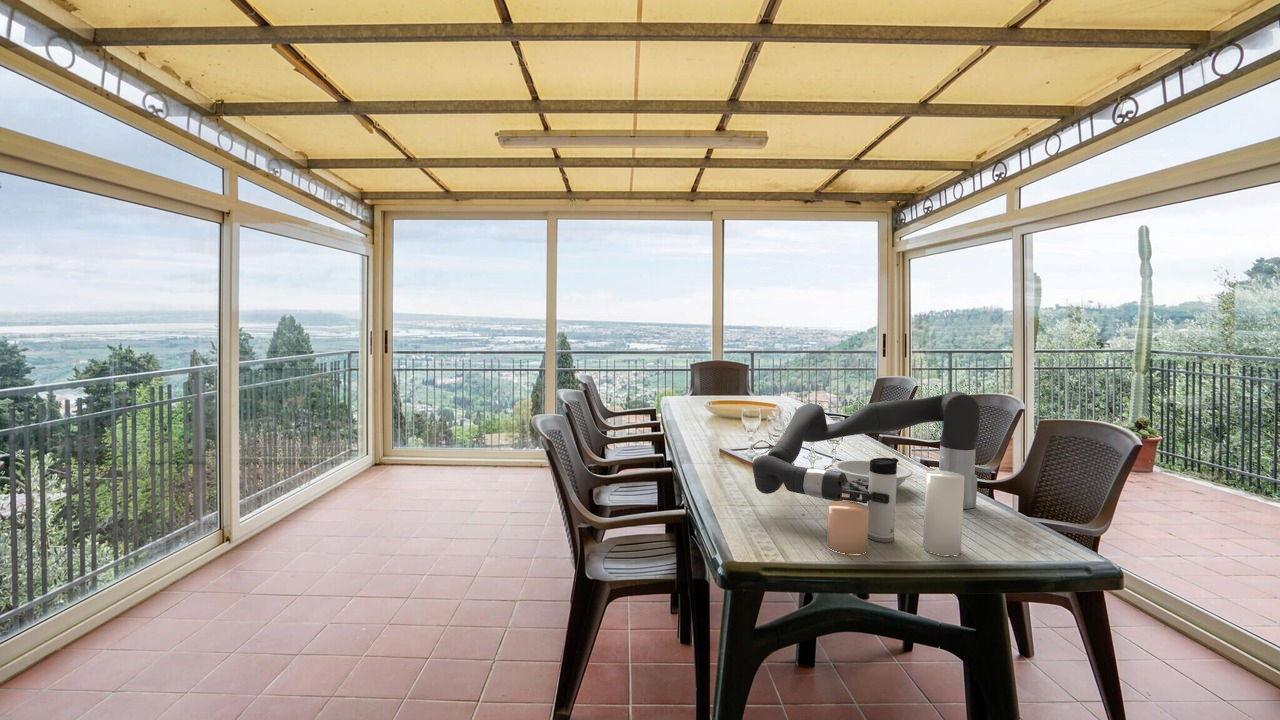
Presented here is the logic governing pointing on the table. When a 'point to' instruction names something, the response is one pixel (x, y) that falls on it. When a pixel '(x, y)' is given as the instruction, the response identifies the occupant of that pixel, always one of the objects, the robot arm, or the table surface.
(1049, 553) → the table surface
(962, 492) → the tall white cylinder
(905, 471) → the soup bowl
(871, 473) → the travel mug
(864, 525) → the peach rounded cylinder
